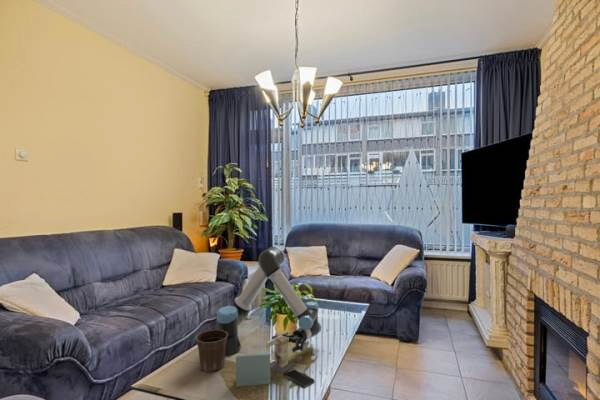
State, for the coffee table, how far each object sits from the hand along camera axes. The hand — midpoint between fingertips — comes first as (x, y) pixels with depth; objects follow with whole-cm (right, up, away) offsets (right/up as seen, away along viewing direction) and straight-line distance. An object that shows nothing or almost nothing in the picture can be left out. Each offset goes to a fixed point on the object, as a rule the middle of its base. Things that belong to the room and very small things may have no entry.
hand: (277, 348), depth 175 cm
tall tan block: (+2, -9, +3) cm, 10 cm away
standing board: (-11, -11, -12) cm, 19 cm away
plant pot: (-34, -11, +3) cm, 36 cm away
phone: (+11, -11, -9) cm, 18 cm away
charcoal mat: (+2, -10, +3) cm, 11 cm away
